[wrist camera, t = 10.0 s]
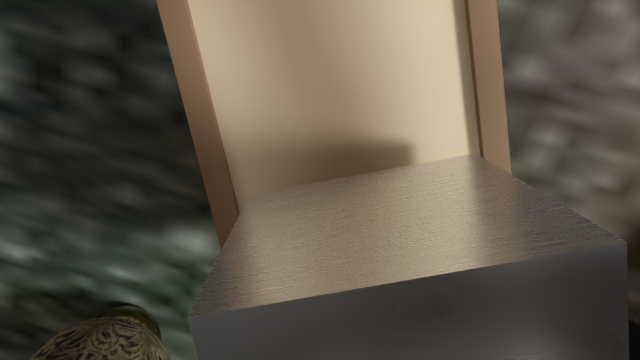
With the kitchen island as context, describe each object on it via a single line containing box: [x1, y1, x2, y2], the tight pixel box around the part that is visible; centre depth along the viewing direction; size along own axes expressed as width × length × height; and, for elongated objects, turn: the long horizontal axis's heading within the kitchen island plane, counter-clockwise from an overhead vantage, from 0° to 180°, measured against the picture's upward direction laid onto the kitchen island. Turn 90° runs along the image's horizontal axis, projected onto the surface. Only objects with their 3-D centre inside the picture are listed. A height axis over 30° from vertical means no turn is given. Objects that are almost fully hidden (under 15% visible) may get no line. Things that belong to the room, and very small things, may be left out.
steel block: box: [187, 154, 629, 360], centre depth 8 cm, size 5×5×5 cm
